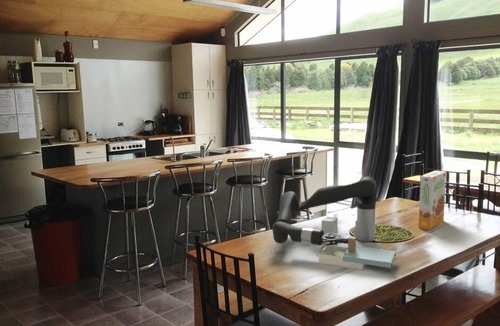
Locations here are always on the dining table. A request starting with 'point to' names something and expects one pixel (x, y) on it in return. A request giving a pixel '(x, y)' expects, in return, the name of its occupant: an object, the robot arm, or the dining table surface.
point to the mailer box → (337, 257)
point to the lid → (368, 255)
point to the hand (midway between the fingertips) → (348, 241)
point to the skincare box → (329, 227)
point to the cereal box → (432, 199)
